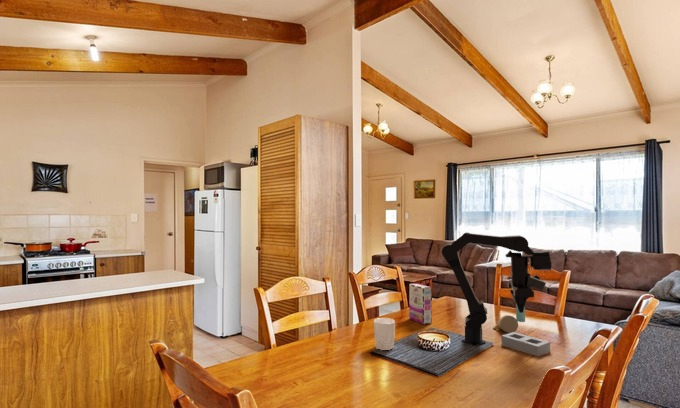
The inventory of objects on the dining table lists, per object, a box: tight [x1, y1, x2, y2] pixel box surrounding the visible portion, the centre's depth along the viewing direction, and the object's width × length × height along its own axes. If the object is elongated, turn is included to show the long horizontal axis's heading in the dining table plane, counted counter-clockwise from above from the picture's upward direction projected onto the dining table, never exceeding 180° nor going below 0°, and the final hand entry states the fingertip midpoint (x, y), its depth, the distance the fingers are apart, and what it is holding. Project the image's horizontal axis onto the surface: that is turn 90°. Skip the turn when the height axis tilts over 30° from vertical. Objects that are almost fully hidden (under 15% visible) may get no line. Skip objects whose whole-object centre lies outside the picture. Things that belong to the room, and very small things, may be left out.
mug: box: [492, 314, 519, 334], centre depth 163 cm, size 8×10×10 cm
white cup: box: [373, 317, 396, 351], centre depth 144 cm, size 8×8×10 cm
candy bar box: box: [408, 283, 433, 325], centre depth 178 cm, size 11×5×16 cm, turn 25°
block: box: [501, 331, 551, 357], centre depth 142 cm, size 8×14×4 cm, turn 34°
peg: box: [515, 304, 526, 323], centre depth 144 cm, size 3×3×10 cm
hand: (520, 311), depth 144 cm, fingers closed on peg, 3 cm apart
